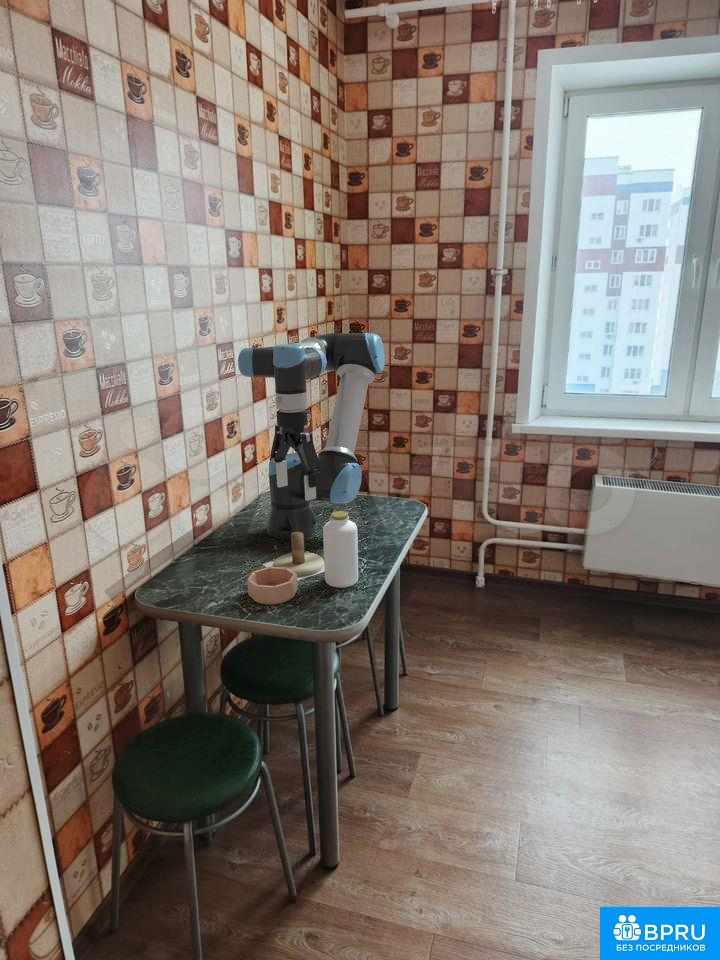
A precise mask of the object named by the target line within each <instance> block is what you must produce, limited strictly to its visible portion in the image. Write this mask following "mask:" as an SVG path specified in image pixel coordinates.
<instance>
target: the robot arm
mask: <svg viewBox="0 0 720 960" xmlns="http://www.w3.org/2000/svg"><path fill="white" fill-rule="evenodd" d="M237 357H238V358H237V367H238V371H239V372H240V374H241V375H242V376H244V377H248V378H253V379H255V378H267V379H269V378H273V379H274V386H275V388H274V389H275V390H274V391H275V398H274V401H275V406H276V407H275V408H276V409H277V410H276V424H275V425H274V435H273V436H274V437H273V440H272V446H271V450H270V461H269V462H268V475H267V476H268V481H269V498H270V510H269V514H268V518H267V521H266V526H265V527H266V534H267V535H268V536H269V537H271V538H275V539H281V540H291V533H293V532H302V533H303V536H304V538H307V537H310V536H312V535H313V534H316V532H317V530H318V521H317V517H316V516H315V514H314V511H313V508H312V506H311V501H312V502H313V501H314V502H324V503H331V504H348V503H351V502H353V500H354V499H355V498H356V497H357V495H358V493H359V491H360V487H361V485H362V480H363V479H362V476H363V471H362V467H361V466H360V465H359V464H358V463H359V461H358V459H357V457H356V455H355V450H356V445H357V441H358V437H359V432H360V431H359V430H360V426H361V422H362V417H363V413H364V407H365V402H366V397H367V392H368V387H369V384H371V383H373V382H374V381H375V378H376V374H377V373H378V374H380V373H382V372H383V371H384V370H385V362H386V361H385V359H386V358H385V348H384V343H383V341H382V338H381V337H380V335H378V334H377V333H368V332H364V333H362V332H361V333H351V332H330V333H324V334H320V335H315V336H309V337H306V338H303V339H302V340H301V341H300V342H293V343H283V344H277V345H272V346H266V347H264V346H263V347H245V348H243V349H241V350H240V351H239V354H238V356H237ZM325 371H330V372H331V371H333V372H337V375H338V377H340V379H339V383H338V389H337V393H336V397H335V402H334V408H333V411H332V416H331V420H330V424H329V430H328V434H327V439H326V441H325V442H326V443H325V447H324V449H322V450H320V451H319V452H318V453H317V451H316V448H315V444H314V440H313V439H314V437H313V433H312V432H305V427H306V426H307V425H309V417H308V416H309V415H308V410H307V409H306V408H308V393H307V392H308V391H307V381H308V380H311V379H315V378H317V377H319V376H320V375H322V374H323V373H324V372H325ZM290 448H292V449H293V451H294V452H291V453H288V452H289V450H290Z"/></svg>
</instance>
